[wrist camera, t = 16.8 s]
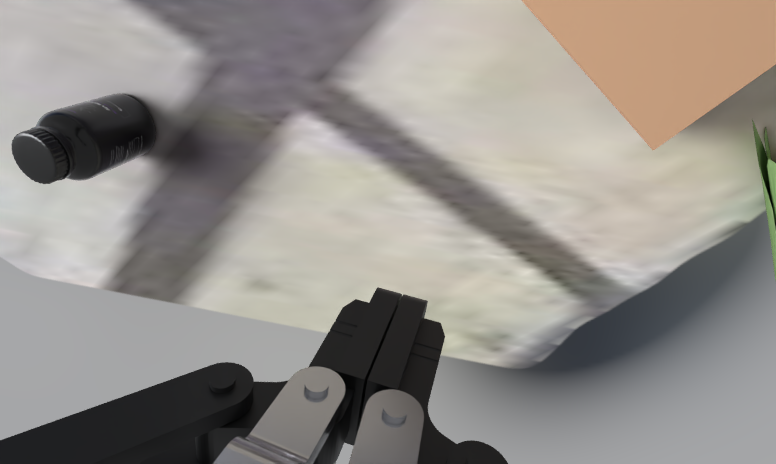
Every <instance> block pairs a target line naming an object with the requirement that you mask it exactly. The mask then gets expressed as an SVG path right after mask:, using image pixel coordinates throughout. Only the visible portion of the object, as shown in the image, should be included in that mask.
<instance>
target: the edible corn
mask: <svg viewBox="0 0 776 464" xmlns="http://www.w3.org/2000/svg"><path fill="white" fill-rule="evenodd" d="M752 122H753V120H752ZM753 129H754V136H755V142H756V149H757V155H758V162H759V167H760V172H761V177H762V183H763V190H764V197H765V203H766V210H767V217H768V224H769V231H770V238H771V246H772V254H773V263H774V272H775V279H776V163H775V162H773V161H772V160H771V155H770V149H769V143H768V137H767V131H766V129H765V146H766V151H765V149H764V146H763V144H762V142H761V139H760V137H759V134H758V132H757V129H756V127H755V125H754V122H753ZM766 153H767V155H766Z"/></svg>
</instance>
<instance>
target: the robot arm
mask: <svg viewBox="0 0 776 464" xmlns="http://www.w3.org/2000/svg"><path fill="white" fill-rule="evenodd" d="M427 302H428V301H426V300H422V299H418V298H415V297H411V296H408V295H403V296H402V294H400V293H396V292H393V291H389V290H385V289H382V288H377V289H376V291H375V293H374V295H373V297H372V299H371V301H370V303H367V302H364V301H360V300H356V299H355V300H354V301H352V302H351V303H349V304H348V305H346V306H345V307H343V308H342V310H341V312H340V314H339V315H338V317H337V319H336V322H334V324H333V326H332V327H331V329H330V332H329V333H328V334H327V336H326V338H325V340H324V341H323V343H322V345H321V346H320V348H319V350H318V352H317V353H316V355H315V357H314V359H313V360H312V362H311V364H310V366H309V367H308V368H304V369H301V370H299V371H298V372H296V373H295V374H294V375H293V376H292V377H291V378H290V379H289V380H288V381H284V382H253V377H252V375H251V373H250V372H249V371H248V369H246V368H245V367H243V366H242V365H239V364H235V363H228V362H226V363H217V364H214V365H211V366H208V367H205V368H202V369H199V370H197V371H194V372H191V373H188V374H186V375H182V376H180V377H177V378H174V379H171V380H169V381H166V382H163V383H160V384H157V385H155V386H152V387H149V388H146V389H143V390H141V391H138V392H135V393H132V394H130V395H127V396H124V397H121V398H118V399H115V400H112V401H110V402H107V403H104V404H101V405H98V406H96V407H93V408H91V409H87V410H85V411H82V412H79V413H76V414H73V415H70V416H68V417H65V418H62V419H60V420H56V421H54V422H51V423H48V424H45V425H42V426H40V427H37V428H34V429H31V430H28V431H26V432H23V433H20V434H17V435H14V436H11V437H9V438H6V439H3V440H0V464H335V463H336V460H337V458H338V456H339V454H340V451H341V449H342V446H343V444H344V443H347V444H351V445H354V447H353V451H352V454H351V457H350V461H349V464H508V463H507V461H506V460H505V458H504V457H503V456H502V455H501V454H500V453H499V452H498V451H497V450H496V449H494V448H493V447H491V446H489V445H488V444H485V443H482V442H479V441H464V442H461V443H458V444H455V443H454V442H453V441H451V440H450V439H448V438H447V437H445V436H444V435H442V434H441V433H440V432H439V431H438V430H437V429H436V428H435V426H434V425H433V423H432V422H431V420H430V417H429V414H428V402H429V398H430V394H431V390H432V386H433V382H434V378H435V374H436V370H437V366H438V362H439V358H440V354H441V350H442V346H443V342H444V338H445V335H444V332H443V329H442V326H441V323H439V322H435V321H432V320H428V319H424V316H425V312H426V307H427Z"/></svg>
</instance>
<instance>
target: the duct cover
mask: <svg viewBox="0 0 776 464" xmlns="http://www.w3.org/2000/svg"><path fill="white" fill-rule="evenodd" d="M522 1H523V2H524V4H525V5H526V6H527V7H528V8H529V9H530V10H531V12H532V13H533V14H534V15H535V16H536V17H537V18H538V20H539V21H540V22H541V23H542V24H543V25H544V26H545V28H546V29H547V30H548V31H549V32H550V33H551V34H552V36H553V37H554V38H555V39H556V40H557V41H558V42H559V44H560V45H561V46H562V47H563V48H564V49H565V50H566V52H567V53H568V54H569V55H570V56H571V57H572V58H573V60H574V61H575V62H576V63H577V64H578V65H579V66H580V68H581V69H582V70H583V71H584V72H585V73H586V74H587V76H588V77H589V78H590V79H591V80H592V81H593V82H594V84H595V85H596V86H597V87H598V88H599V89H600V90H601V92H602V93H603V94H604V95H605V96H606V97H607V98H608V100H609V101H610V102H611V103H612V104H613V105H614V106H615V107H616V109H617V110H618V111H619V112H620V113H621V114H622V115H623V117H624V118H625V119H626V120H627V121H628V122H629V123H630V125H631V126H632V127H633V128H634V129H635V130H636V131H637V133H638V134H639V135H640V136H641V137H642V138H643V139H644V141H645V142H646V143H647V144H648V145H649V146H650V147H651V149H652V150H655V149H656V148H658V147H659V146H660V145H662V144H663V143H665V142H666V141H668V140H669V139H670V138H672V137H673V136H675V135H676V134H677V133H679V132H680V131H682V130H683V129H685V128H686V127H687V126H689V125H690V124H692V123H693V122H695V121H696V120H697V119H699V118H700V117H702V116H703V115H704V114H706V113H707V112H709V111H710V110H712V109H713V108H714V107H716V106H717V105H719V104H720V103H722V102H723V101H724V100H726V99H727V98H729V97H730V96H731V95H733V94H734V93H736V92H737V91H739V90H740V89H741V88H743V87H744V86H746V85H747V84H749V83H750V82H751V81H753V80H754V79H756V78H757V77H758V76H760V75H761V74H763V73H764V72H766V71H767V70H768V69H770V68H771V67H773V66H774V65H776V0H522Z"/></svg>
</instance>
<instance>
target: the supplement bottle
mask: <svg viewBox="0 0 776 464" xmlns="http://www.w3.org/2000/svg"><path fill="white" fill-rule="evenodd" d="M155 136H156V132H155V126H154V122H153V120H152V118H151V116H150V114H149V112H148V111H147V110H146V108H145V107H144V106H143V105H142V104H141V103H140V102H139V101H137V100H136V99H134V98H132V97H130V96H128V95H124V94H113V95H108V96H104V97H101V98H97V99H93V100H90V101H86V102H82V103H79V104H75V105H72V106H68V107H64V108H61V109H57V110H54V111H51V112H48V113H46V114H45V115H43V116H42V117H41V118H40V119H39V121H38V123H37V125H36V127H34V128H31V129H30V130H27V131H24V132H21V133H19V134H17V135H16V136H15V137H14V140H12V154H13V156H14V159H15V161H16V163H17V165H18V166H19V168H20V169H21V170H22V171H23V173H25V174H26V175H27V176H28V177H29V178H30V179H32V180H34V181H35V182H39V183H43V184H50V183H52V182H55V181H57V180H62V179H65V178H68V179H71V180H79V181H80V180H87V179H90V178H93V177H95V176H97V175H99V174H102V173H104V172H106V171H108V170H111V169H113V168H115V167H117V166H120V165H122V164H124V163H126V162H129V161H131V160H133V159H135V158H138V157H140V156H142V155H144V154H146V153H147V152H148V151H149V150H150V149H151V148H152V147H153V144H154V142H155Z"/></svg>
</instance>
